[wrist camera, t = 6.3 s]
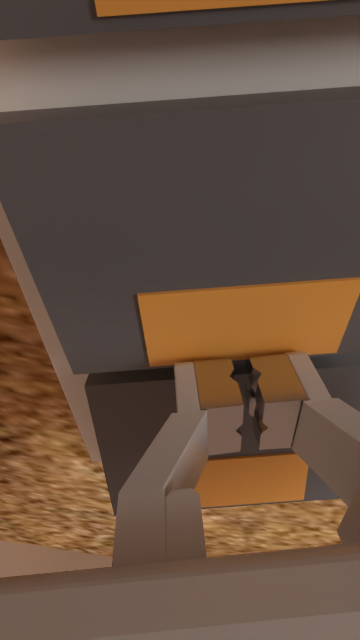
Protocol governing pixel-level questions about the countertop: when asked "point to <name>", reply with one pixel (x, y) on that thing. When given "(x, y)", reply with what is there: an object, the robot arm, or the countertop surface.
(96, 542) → the countertop surface
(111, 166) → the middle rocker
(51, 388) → the countertop surface
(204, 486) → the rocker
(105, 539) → the countertop surface
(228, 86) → the rocker switch box
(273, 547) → the countertop surface
